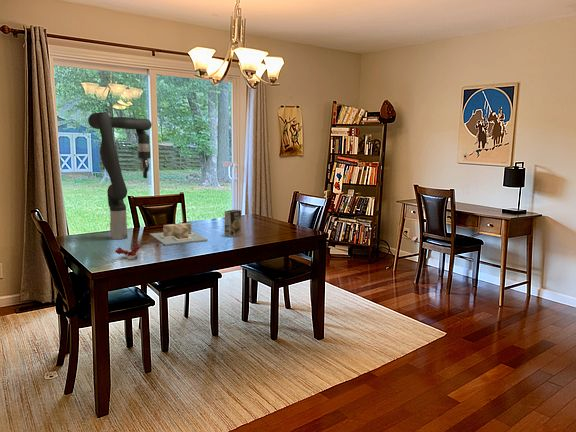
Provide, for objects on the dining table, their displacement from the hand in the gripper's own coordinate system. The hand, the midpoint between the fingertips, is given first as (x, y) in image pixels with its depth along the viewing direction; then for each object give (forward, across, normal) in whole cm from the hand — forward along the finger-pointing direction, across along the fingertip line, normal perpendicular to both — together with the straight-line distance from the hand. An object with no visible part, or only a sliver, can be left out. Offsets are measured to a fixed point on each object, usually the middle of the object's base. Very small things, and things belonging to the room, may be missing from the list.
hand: (145, 178), depth 291 cm
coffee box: (+35, +38, +44) cm, 68 cm away
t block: (+34, +32, +12) cm, 48 cm away
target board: (+35, +29, +11) cm, 47 cm away
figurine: (+35, +62, -25) cm, 76 cm away
